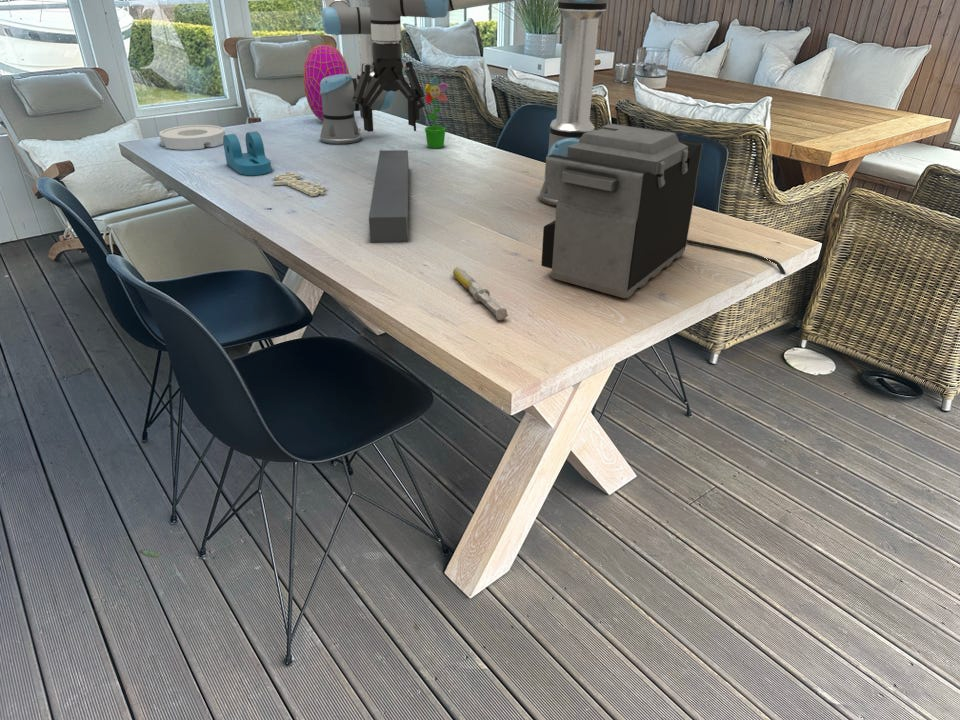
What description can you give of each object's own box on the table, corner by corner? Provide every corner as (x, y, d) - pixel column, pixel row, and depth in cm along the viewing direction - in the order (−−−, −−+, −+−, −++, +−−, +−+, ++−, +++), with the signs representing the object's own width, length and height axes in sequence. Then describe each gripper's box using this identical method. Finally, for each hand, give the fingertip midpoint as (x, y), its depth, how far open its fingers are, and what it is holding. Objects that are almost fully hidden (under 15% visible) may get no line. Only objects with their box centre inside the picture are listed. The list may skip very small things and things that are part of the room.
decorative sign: (262, 176, 218) (290, 170, 223) (262, 179, 218) (291, 173, 224) (303, 195, 201) (333, 189, 206) (303, 198, 201) (333, 192, 207)
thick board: (407, 241, 173) (406, 216, 169) (370, 242, 172) (368, 217, 169) (408, 169, 230) (407, 150, 227) (381, 170, 230) (379, 150, 226)
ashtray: (176, 134, 270) (174, 124, 268) (235, 135, 269) (233, 125, 267) (150, 149, 250) (147, 137, 248) (213, 150, 249) (211, 139, 247)
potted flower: (429, 149, 253) (427, 77, 241) (420, 145, 259) (418, 74, 247) (452, 147, 257) (451, 75, 245) (443, 142, 263) (442, 72, 250)
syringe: (449, 274, 155) (449, 263, 153) (465, 272, 156) (464, 260, 154) (490, 323, 135) (491, 310, 133) (508, 319, 136) (508, 307, 134)
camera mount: (227, 164, 233) (221, 132, 227) (257, 160, 238) (252, 129, 233) (244, 176, 220) (239, 143, 215) (276, 172, 225) (271, 139, 220)
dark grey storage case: (608, 233, 179) (621, 113, 163) (689, 253, 168) (712, 126, 152) (533, 279, 153) (540, 141, 138) (624, 305, 142) (643, 159, 127)
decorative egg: (337, 115, 306) (331, 41, 291) (362, 122, 294) (356, 45, 279) (299, 120, 295) (290, 44, 280) (323, 128, 283) (315, 49, 267)
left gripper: (430, 57, 213) (432, 127, 223) (349, 57, 211) (354, 128, 221) (431, 60, 206) (433, 132, 217) (347, 60, 204) (353, 133, 215)
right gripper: (420, 38, 184) (422, 120, 194) (334, 42, 171) (341, 130, 182) (435, 41, 178) (436, 125, 189) (348, 45, 166) (354, 136, 177)
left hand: (393, 130), depth 219 cm, fingers open, 13 cm apart
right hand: (390, 128), depth 186 cm, fingers open, 13 cm apart
